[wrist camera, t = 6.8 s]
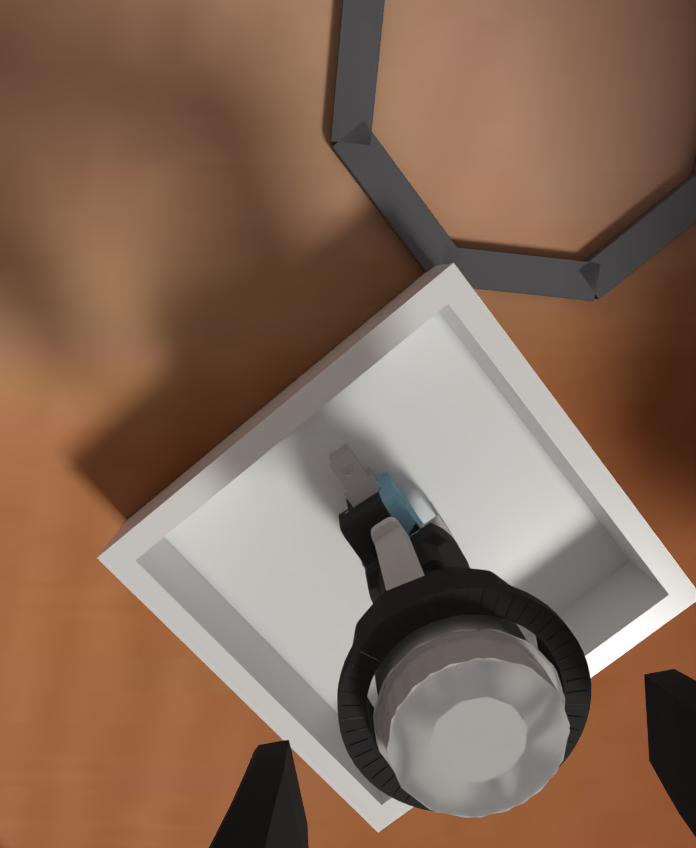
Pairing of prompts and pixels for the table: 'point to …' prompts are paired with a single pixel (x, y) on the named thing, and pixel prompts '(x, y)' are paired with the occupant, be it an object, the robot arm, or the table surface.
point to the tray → (420, 484)
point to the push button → (449, 665)
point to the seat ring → (422, 228)
